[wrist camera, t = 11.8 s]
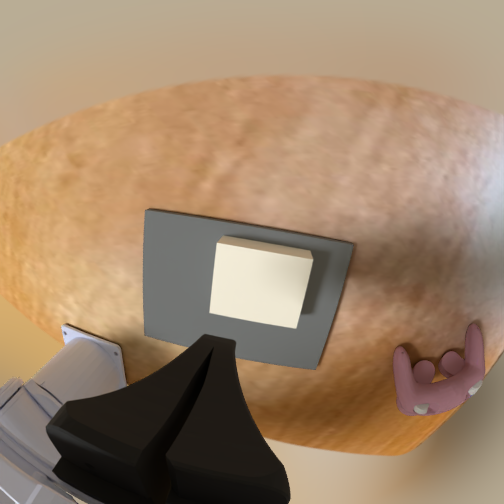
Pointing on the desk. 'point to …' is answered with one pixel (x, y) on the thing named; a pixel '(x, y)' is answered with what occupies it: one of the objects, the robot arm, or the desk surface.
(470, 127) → the desk surface
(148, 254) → the mat
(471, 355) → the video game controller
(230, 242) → the block
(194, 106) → the desk surface
